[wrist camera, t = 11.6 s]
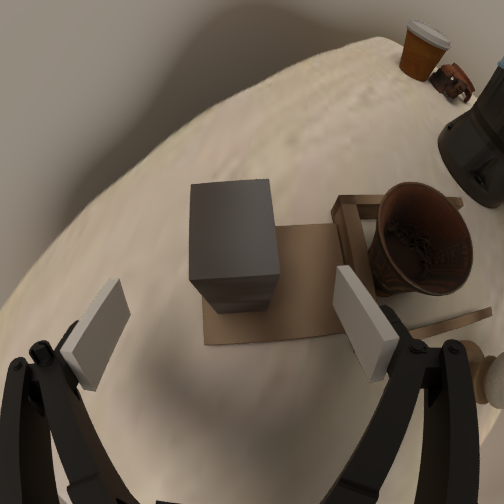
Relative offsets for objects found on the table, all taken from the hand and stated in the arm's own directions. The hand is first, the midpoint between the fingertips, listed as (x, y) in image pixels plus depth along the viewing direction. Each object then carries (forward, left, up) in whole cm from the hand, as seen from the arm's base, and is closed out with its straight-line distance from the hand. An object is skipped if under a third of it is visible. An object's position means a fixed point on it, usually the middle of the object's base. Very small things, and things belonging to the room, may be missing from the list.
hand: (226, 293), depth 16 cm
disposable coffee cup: (-38, -42, -8) cm, 57 cm away
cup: (-14, -2, -8) cm, 17 cm away
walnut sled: (-12, -2, -8) cm, 14 cm away
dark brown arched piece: (-45, -38, -9) cm, 60 cm away
